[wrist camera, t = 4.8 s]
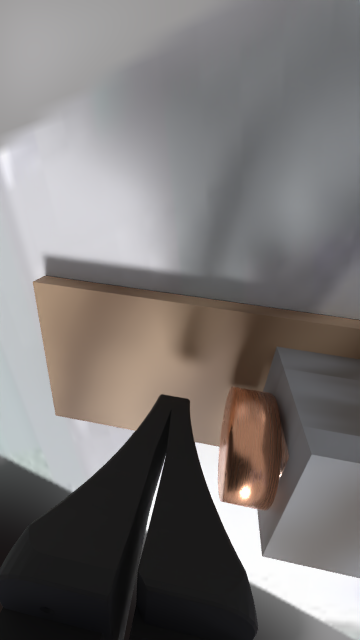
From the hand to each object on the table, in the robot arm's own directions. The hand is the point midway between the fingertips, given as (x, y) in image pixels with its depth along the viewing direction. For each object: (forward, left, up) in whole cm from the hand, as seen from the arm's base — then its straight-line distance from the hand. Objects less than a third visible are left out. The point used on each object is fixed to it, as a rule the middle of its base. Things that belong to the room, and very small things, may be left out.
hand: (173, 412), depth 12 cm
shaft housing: (-2, 0, -3) cm, 4 cm away
